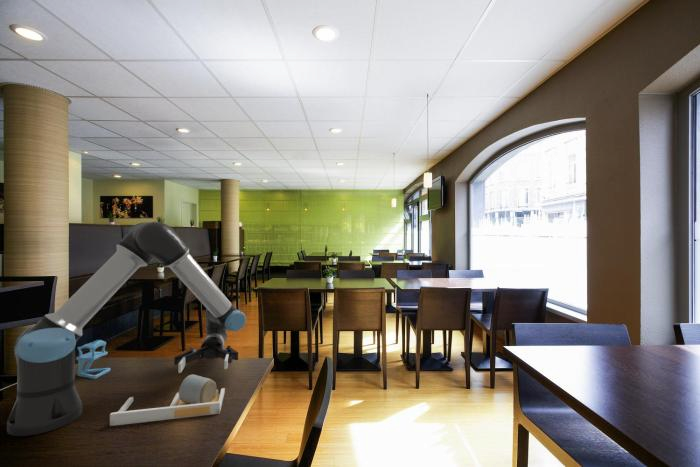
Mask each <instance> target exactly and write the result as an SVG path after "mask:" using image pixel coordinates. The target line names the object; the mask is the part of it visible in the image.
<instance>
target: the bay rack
mask: <svg viewBox="0 0 700 467" xmlns="http://www.w3.org/2000/svg"><path fill="white" fill-rule="evenodd" d="M225 392H226V388H225V387H223V388H221V389H220V392H218V394H217V395H215V396H214V398H213V400H212V401H211V402H208V403H198V404H191V403H186V402H182V401H181V400H180V398H179V392H176V393H175V396H174V397H173V399H172V402H171V403H170V405H169V406H161V407H160V406H159V407H154V408H143V409H142V408H141V409H134V410H128V409H129V407H131V405H132V403H133V402H134V396H129V398H128V399H127V400H126V401H125V402H124V404H122V406H121V407H120V408H119V410H118V411H115V412H110V414H109V426H110V427H113V426H114V427H115V426H124V425H132V424H140V423H149V422H157V421H158V422H159V421H166V420H175V419H185V418H194V417H201V416H210V415H211V416H212V415H219V414H221V410H222V405H223V401H224V398H225Z"/></svg>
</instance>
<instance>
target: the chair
mask: <svg viewBox="0 0 700 467" xmlns="http://www.w3.org/2000/svg"><path fill="white" fill-rule="evenodd" d="M106 345H107V342H106V341H104V340H102V339H96V340H94V341H92V342H89V343H85V344H84V345H81V346H78V347H77V351H78V352H79V354H78V356H75V361H77V362H78V368H77V369H78V370H77V377H82V378H86V379H87V378H88V379H93V380H95V379H98V378H99V377H101V376H103V375H105V374H107V373H109V372H111V367H105V368H93V369H90V368H91V366H92V363H93V362H94V361H95V360H98V359H99V358H101V357H103V356H104V357H105V356H106V355H108V352H109V351H106V350H105V349H106ZM99 347H100V348H101V347H102V348H101V351H96V349H98V348H99ZM83 349H89V352H86V353H84V354H83V351H82V350H83ZM87 361H88V362H87ZM85 362H87V364H86V366H85V368H84V364H85ZM91 373H97V374H95V375H94V374H91Z"/></svg>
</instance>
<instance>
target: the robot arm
mask: <svg viewBox="0 0 700 467" xmlns="http://www.w3.org/2000/svg"><path fill="white" fill-rule="evenodd" d="M115 246H116V251H115V253H114V254H113V255H112V256H111V257H110V258H109V259H108V260H107V261H106V262H105V263H104V264H102V266H101V267H100V268H99V269H98V270H97V271H96V272H95V273H93V275H92V276H90V277H89V279H88V280H87V281H86V282H84V284H83V285H82V286H81V287H80V288H79V289H77V291H76V292H75V293H73V294H72V296H70V297H69V299H68V300H66V301H65V303H63V304H62V305H61V307H59V309H57V310H56V311H55V312H53V313H47V314H46V313H45V315H43V317H41V319H40V320H38V321H37V322H36V324H34V325H33V326H31V327H28V328H27V329H26V330H25V331H23V332H22V333H21V334H20V336H19V337H18V338H17V340H16V341H15V344H14V348H13V351H14V358H15V360H16V367H17V368H16V369H17V373H16V375H17V376H16V378H17V379H16V381H17V382H16V400H15V402H14V405H13V407H12V409H11V412H10V414H9V417H8V419H7V422H6V433H7V434H8V435H11V436H14V437H27V436H34V435H39V434H45V433H47V432H51V431H54V430H57V429H60V428H62V427H64V426H66V425H68V424H70V423H72V422H74V421H76V420H77V419H78V418H79V417H80V416H82V413H83V403H82V402H83V401H82V400H81V397H80V395H79V392H78V390H77V388H76V386H75V384H76V382H75V381H76V380H75V377H76V375H75V374H76V370H75V368H76V367H75V366H76V364H75V363H76V345H77V342H78V341H79V340H80V339H81V337H82V336H83V335H84V334H83V328H84V327H85V325H87V324H88V323H89V321H90V320H91V319H92V318H93V317H94V316H95V315H96V314H97V313H98V312H99V311H100V310H101V309H102V308H103V306H104V305H105V304H106V303H107V302H109V300H110V299H111V298H112V297H113V296H114V295H115V294H116V293H117V291H119V290H120V288H122V286H123V285H124V284H125V283H126V282H127V281H128V280H129V279H130V278H131V277H132V275H134V274H135V273H136V271H137V270H138V269H139V268H141V267H142V268H143V267H147V266H148V265H149V264H151V262H152V261H153V260H154V259H155V260H157V261H158V263H160V264H161V265H162V266H163V267H164V268H169V269H170V270H171V271H172V272H173V273H174V274H175V276H176V277H177V278H178V279H179V280H180V281H181V282H182V283H183V285H185V286H186V287H187V288H188V290H190V292H191V293H192V294H193V295H194V296H195V298H197V300H198V301H199V302H200V303H201V304H202V305H203V307H205V308H206V309H205V312H206V317H205V318H206V321H205V323H206V324H205V325H206V327H205V328H206V329H205V331H206V332H205V338H204V340H203V342H202V343H201V346H200V347H199V348H198V349H195V348H194V347H191V348H189V349H188V350H185V351H184V352H181V353H180V354H177V355H175V356H174V357H173V363H174V365H176V366H177V368H178V369H177V371H178V374H180V373H182V372H183V370H184V368H185V367H186V364H188V363H191V362H193V361H196V360H199V361H200V360H202V359H207V360H214V359H221V360H224V362H223V363H224V364H223V368H224V370H227V369H228V367H229V366H228V365H229V364H232V362H233V360H234V361H238V360H239V352H238V351H237V350H235V349H234V348H232V347H231V345H226V347H225V348H224V346H225V343H226V341H227V338H228V333H227V330H228V331H230V332H238V331H241V330H242V329H243V328H244V327H245V325H246V322H247V316H246V315H245V313H244V312H243V311H241V310H238V309H237V308H236V306H235V305H234V304H233V303H232V302H231V301H230V300H229V299H228V298H227V296H226V295H225V293H223V292H222V290H221V289H220V288H219V287H218V286H217V284H216V283H215V282H214V281H213V280H212V278H210V277H209V275H208V273H206V272H205V270H203V268H202V267H201V266H200V264H199V263H198V262H197V261H196V260H195V258H193V256H192V255H191V254H190V248H189V246H187V245H186V243H185V242H184V241H183V240H182V238H181V237H180V236H179V235H178V233H177V232H176V231H175V230H174V229H173V228H172V227H171V226H169V225H168V224H166V223H164V222H160V221H143V222H138V223H137V224H134V225H132V226H131V227H130V228H129V229H128V230H127V232H126V233H125V236H124V237H123V238H122V239H121V240H120V241H119V242H118V243H117V244H116V245H115Z"/></svg>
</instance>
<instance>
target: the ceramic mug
mask: <svg viewBox="0 0 700 467" xmlns="http://www.w3.org/2000/svg"><path fill="white" fill-rule="evenodd" d="M217 387H218V386H217V384H216V381H214V380H213V379H211V378H208V377H203V376H202V375H201V376H200V375H197V374H189V375H187V376H186V377H185V378H184V379H183V380H182V382H181V384H180V385H179V390H178V393H179V401H180V400H181V401H182V402H186V403H191V404H198V403H208V402H211V401H212V400H213V398H214V396H215V395H217V394H218V393H219V389H218V388H217Z"/></svg>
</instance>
